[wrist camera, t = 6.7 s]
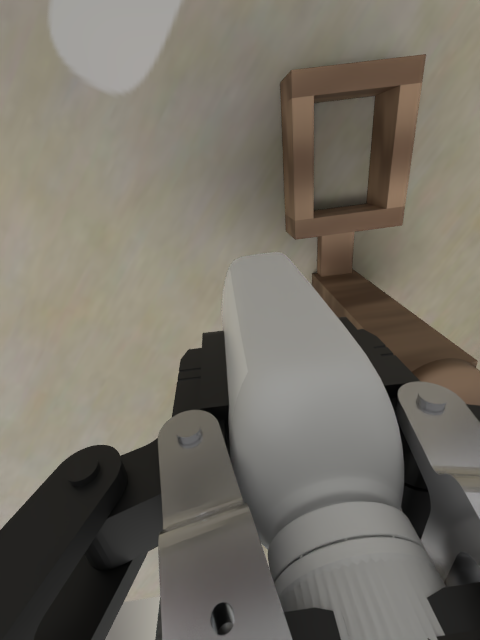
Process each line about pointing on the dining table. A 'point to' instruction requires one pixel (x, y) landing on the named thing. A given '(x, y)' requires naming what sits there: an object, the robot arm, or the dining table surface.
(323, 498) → the eye dropper bottle
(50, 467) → the dining table surface
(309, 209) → the brown wooden frame
